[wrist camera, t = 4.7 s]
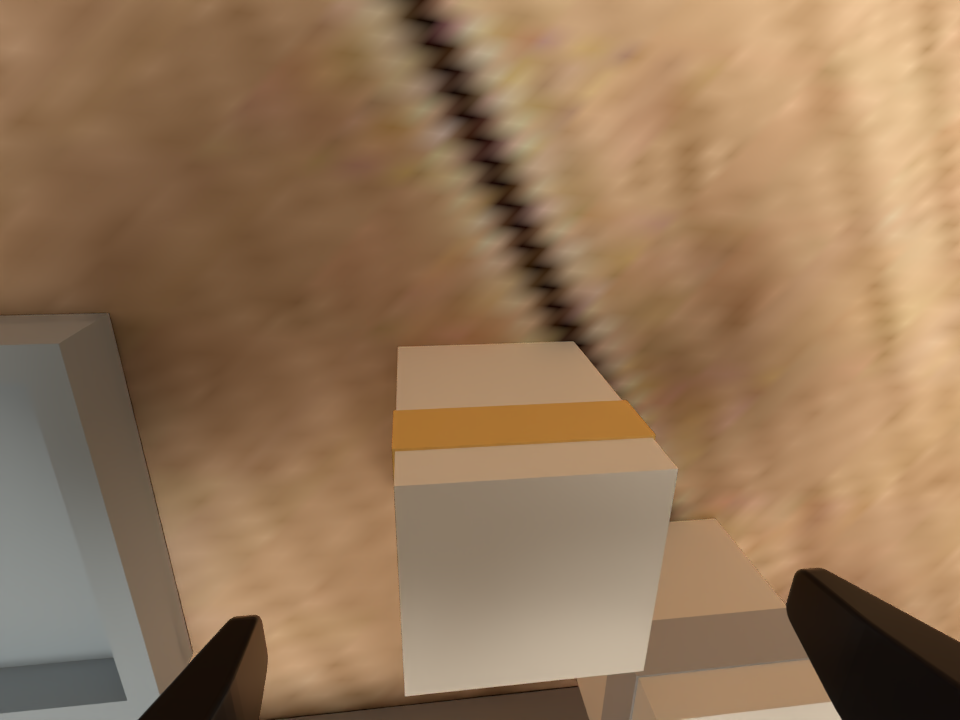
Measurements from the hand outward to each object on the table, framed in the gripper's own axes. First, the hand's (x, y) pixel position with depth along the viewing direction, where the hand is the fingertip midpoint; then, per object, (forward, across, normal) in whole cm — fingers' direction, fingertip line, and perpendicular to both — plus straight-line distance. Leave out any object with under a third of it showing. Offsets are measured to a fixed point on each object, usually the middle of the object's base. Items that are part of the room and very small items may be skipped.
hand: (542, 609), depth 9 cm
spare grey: (+6, -5, +6) cm, 10 cm away
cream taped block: (+6, 0, 0) cm, 6 cm away
